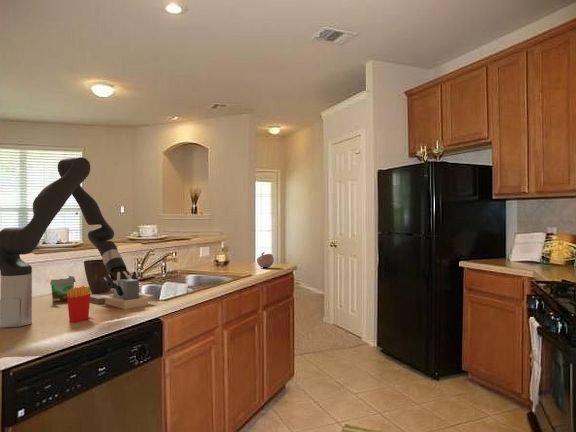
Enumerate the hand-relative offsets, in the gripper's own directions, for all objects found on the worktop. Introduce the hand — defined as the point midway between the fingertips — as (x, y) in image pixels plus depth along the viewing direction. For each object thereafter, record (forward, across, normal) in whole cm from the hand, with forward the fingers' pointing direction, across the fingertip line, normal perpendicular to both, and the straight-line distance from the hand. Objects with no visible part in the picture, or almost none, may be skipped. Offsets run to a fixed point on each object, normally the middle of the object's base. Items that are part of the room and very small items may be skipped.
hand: (128, 293), depth 181 cm
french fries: (+10, -24, -2) cm, 26 cm away
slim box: (+2, 0, +4) cm, 5 cm away
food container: (-20, -11, +28) cm, 35 cm away
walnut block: (-8, -1, +16) cm, 18 cm away
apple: (-32, +132, +39) cm, 141 cm away
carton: (+2, 0, +5) cm, 6 cm away
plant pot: (-23, +7, +30) cm, 38 cm away
